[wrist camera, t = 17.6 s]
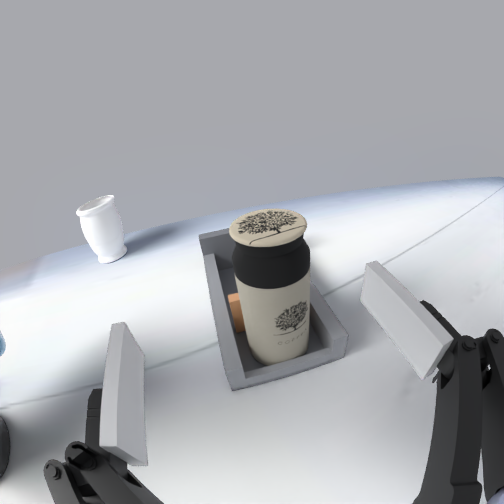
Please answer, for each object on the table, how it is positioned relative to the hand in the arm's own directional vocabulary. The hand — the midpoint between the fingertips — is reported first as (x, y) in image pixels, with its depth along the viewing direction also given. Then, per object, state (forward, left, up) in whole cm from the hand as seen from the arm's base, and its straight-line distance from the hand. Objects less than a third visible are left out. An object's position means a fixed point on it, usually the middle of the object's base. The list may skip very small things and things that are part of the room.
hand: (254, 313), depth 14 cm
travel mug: (+4, +13, -20) cm, 24 cm away
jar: (-28, +53, -20) cm, 63 cm away
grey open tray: (+4, +22, -20) cm, 30 cm away
